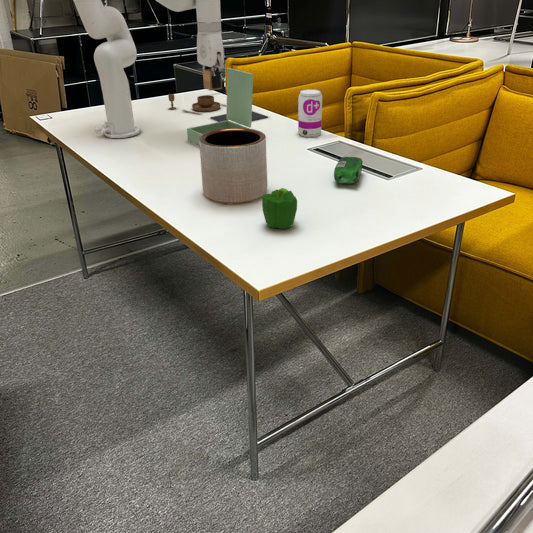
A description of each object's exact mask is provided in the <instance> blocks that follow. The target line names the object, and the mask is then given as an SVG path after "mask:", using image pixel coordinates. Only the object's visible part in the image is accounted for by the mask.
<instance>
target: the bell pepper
mask: <svg viewBox="0 0 533 533" xmlns="http://www.w3.org/2000/svg"><path fill="white" fill-rule="evenodd" d="M261 205H262V214H263V217H264V220H265V223H266V225H267V226H268V227H269V228H272V229H276V228H277V229H280V230H281V229H282V230H285V229H289V228H291V227H292V226H293V224H294V223H295V220H296V214H297V210H298V199H297V197H296V196H295V195H294V193H293V192H292V190H288V189H286V188H285V187H281V188H279V189H274V190H272V191H271V193H265V194H264V195H263V196H261Z"/></svg>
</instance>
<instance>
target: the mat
mask: <svg viewBox="0 0 533 533" xmlns="http://www.w3.org/2000/svg"><path fill="white" fill-rule="evenodd" d="M268 118H269V116H268V115H264V114H262V113H259V112H255V111H253V110H252V121H251V122H255V121H259V120H264V119H268ZM210 119H211V120H214V121H216V122H221V121H226V120H228V119H226V113H225V114H219V115H215V116H210ZM228 121H229V120H228Z"/></svg>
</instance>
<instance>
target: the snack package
mask: <svg viewBox="0 0 533 533" xmlns="http://www.w3.org/2000/svg"><path fill="white" fill-rule="evenodd" d="M363 161H364V160H363V159H362V158H361V157H359V156H342V157H340V158H339V160H338V161H337V164H336V165H335V167H334V170H333V177H334V178H333V179H334V181H335V182H336V184H350V185H351V184H356V183H357V182H358V180H359V179H360V176H361V173H362V170H363Z"/></svg>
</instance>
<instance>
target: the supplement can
mask: <svg viewBox="0 0 533 533" xmlns="http://www.w3.org/2000/svg"><path fill="white" fill-rule="evenodd" d="M297 98H298V101H297V102H298V105H297V106H298V108H297V110H298V111H297V116H298V117H297V133H298V134H299V136H301V137H304V138H315V137H319V136H320V135H321V134H322V123H323V120H322V118H323V114H322V113H323V94H322V92H321V90H319V89H315V88H313V89H311V88H310V89H309V88H308V89H307V88H306V89H301V90H300V92H299V94H298V97H297Z"/></svg>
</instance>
